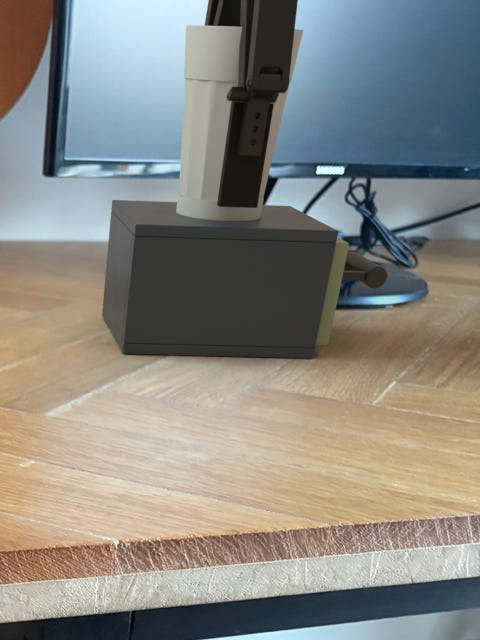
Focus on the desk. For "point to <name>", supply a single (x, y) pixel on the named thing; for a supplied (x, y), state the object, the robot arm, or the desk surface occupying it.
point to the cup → (215, 121)
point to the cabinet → (215, 282)
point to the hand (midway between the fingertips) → (221, 196)
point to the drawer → (346, 269)
